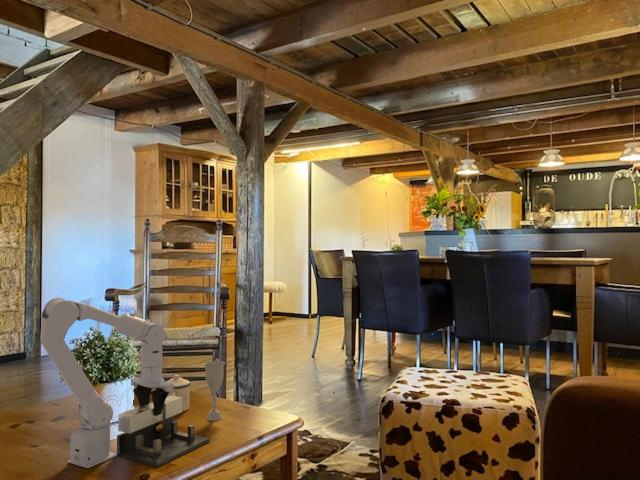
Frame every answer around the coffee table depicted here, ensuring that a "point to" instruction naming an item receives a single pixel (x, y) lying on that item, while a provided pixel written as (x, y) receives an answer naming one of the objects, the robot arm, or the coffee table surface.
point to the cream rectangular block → (148, 415)
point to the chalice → (214, 384)
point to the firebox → (158, 443)
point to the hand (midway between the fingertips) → (151, 413)
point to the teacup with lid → (180, 390)
